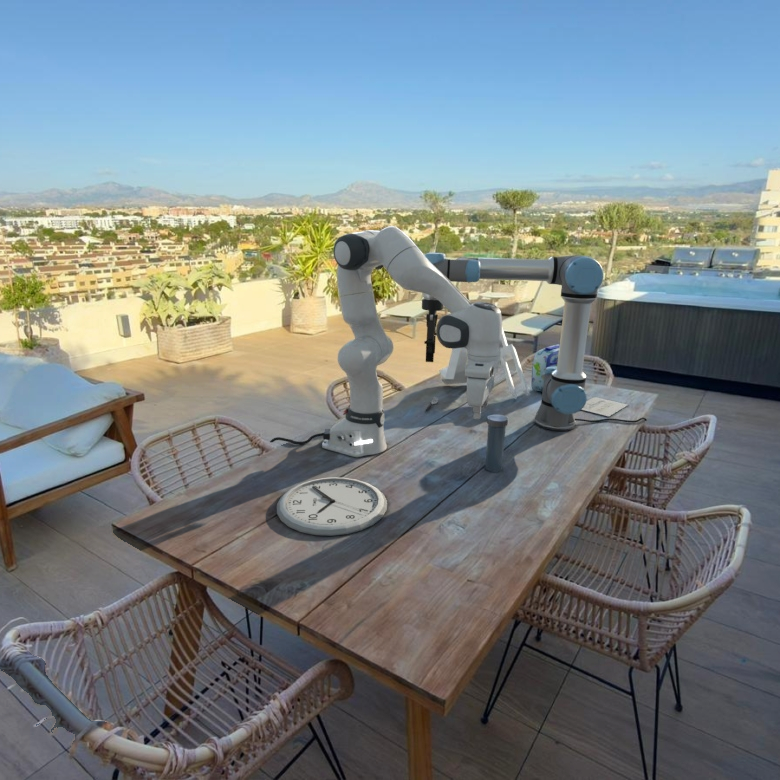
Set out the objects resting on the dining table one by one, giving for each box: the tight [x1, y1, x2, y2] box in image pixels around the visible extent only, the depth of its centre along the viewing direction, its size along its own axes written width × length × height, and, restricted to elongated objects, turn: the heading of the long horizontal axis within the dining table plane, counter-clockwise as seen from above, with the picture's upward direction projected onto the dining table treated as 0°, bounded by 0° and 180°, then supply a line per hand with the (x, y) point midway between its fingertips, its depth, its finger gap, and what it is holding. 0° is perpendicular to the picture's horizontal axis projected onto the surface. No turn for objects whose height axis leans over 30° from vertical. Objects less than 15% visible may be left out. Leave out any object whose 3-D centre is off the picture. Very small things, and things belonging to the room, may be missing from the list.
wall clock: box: [276, 476, 388, 537], centre depth 142 cm, size 30×2×30 cm
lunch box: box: [530, 344, 560, 393], centre depth 247 cm, size 26×11×21 cm, turn 134°
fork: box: [425, 396, 439, 412], centre depth 222 cm, size 3×16×2 cm, turn 160°
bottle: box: [484, 424, 507, 473], centre depth 164 cm, size 5×5×17 cm
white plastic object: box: [438, 326, 531, 400], centre depth 245 cm, size 37×45×31 cm
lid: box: [486, 414, 509, 427], centre depth 162 cm, size 6×6×2 cm
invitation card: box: [580, 396, 629, 418], centre depth 226 cm, size 21×1×15 cm
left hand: (480, 412), depth 144 cm, fingers open, 8 cm apart
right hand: (430, 357), depth 190 cm, fingers open, 13 cm apart
